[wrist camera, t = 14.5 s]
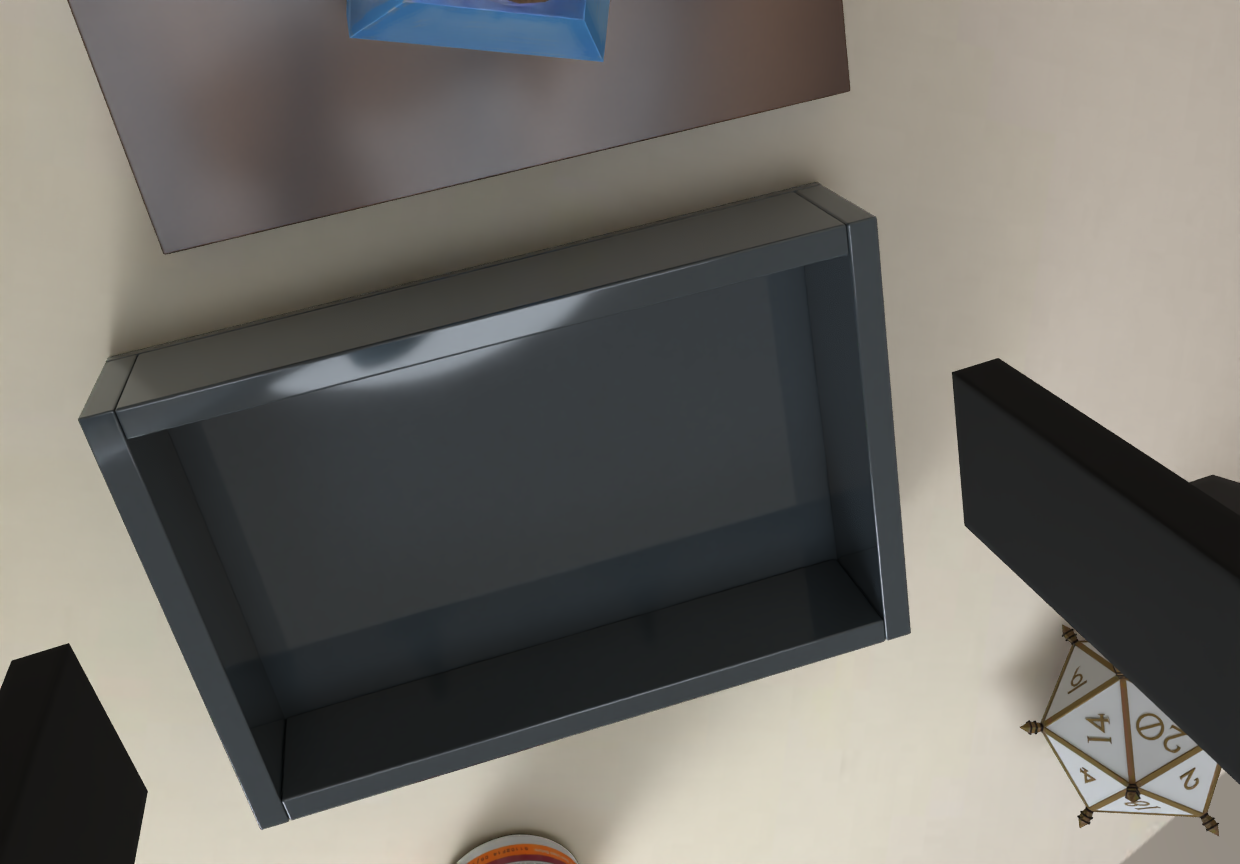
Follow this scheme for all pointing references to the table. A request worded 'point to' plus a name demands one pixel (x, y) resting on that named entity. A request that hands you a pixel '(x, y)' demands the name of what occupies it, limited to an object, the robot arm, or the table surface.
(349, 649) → the tray
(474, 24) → the perfume bottle
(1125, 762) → the game die
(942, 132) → the table surface
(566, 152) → the board
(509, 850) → the pill bottle
